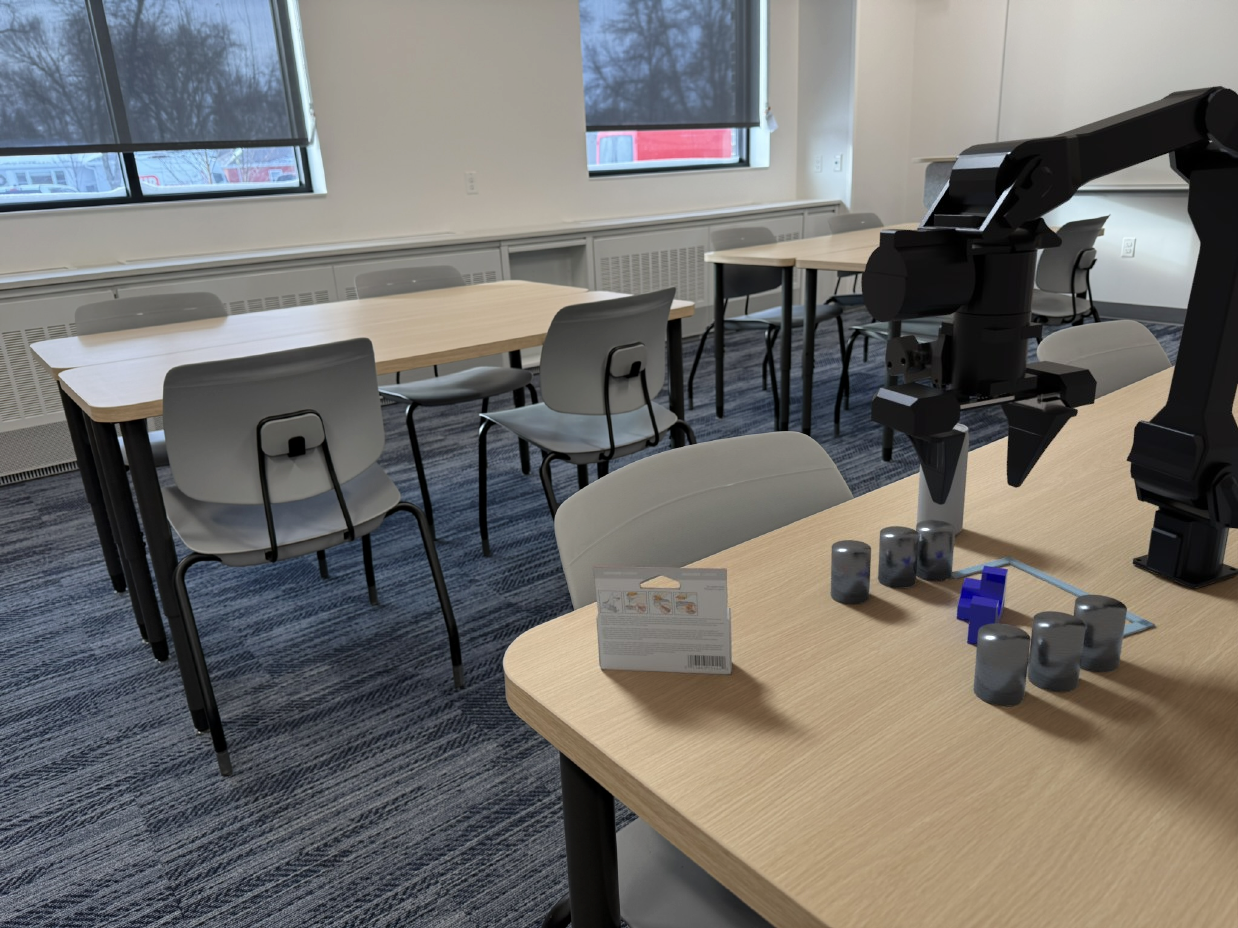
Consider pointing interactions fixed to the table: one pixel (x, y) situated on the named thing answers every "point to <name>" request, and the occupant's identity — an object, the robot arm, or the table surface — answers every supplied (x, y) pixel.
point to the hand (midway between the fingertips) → (976, 494)
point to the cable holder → (982, 600)
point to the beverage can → (955, 500)
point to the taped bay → (1128, 629)
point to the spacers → (999, 646)
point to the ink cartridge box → (663, 620)
